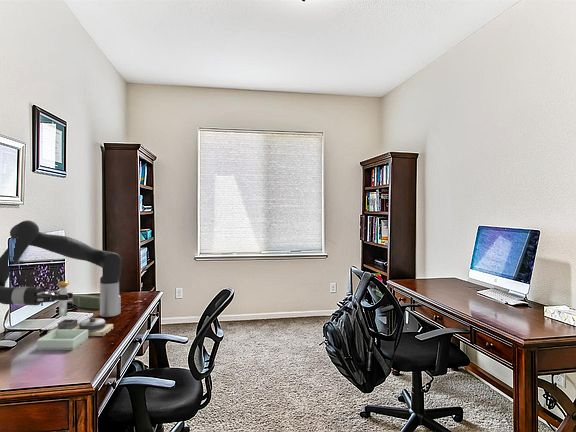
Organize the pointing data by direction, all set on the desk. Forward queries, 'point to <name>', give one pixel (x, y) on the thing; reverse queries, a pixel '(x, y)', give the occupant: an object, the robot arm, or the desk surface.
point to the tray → (62, 340)
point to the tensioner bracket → (85, 326)
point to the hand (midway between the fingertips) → (70, 296)
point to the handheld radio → (86, 301)
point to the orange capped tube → (63, 302)
